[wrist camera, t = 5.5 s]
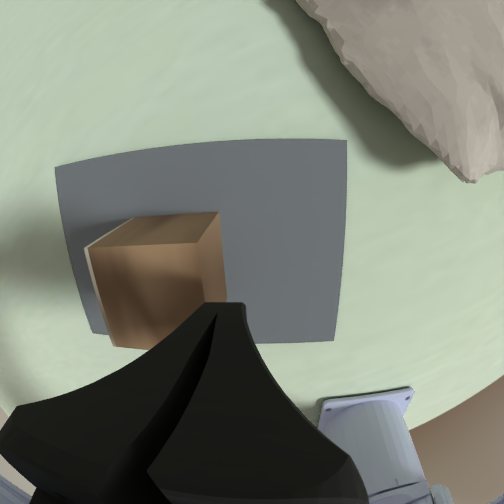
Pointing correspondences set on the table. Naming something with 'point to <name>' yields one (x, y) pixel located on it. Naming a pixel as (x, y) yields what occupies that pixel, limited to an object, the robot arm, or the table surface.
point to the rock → (429, 70)
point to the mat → (229, 221)
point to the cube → (156, 274)
